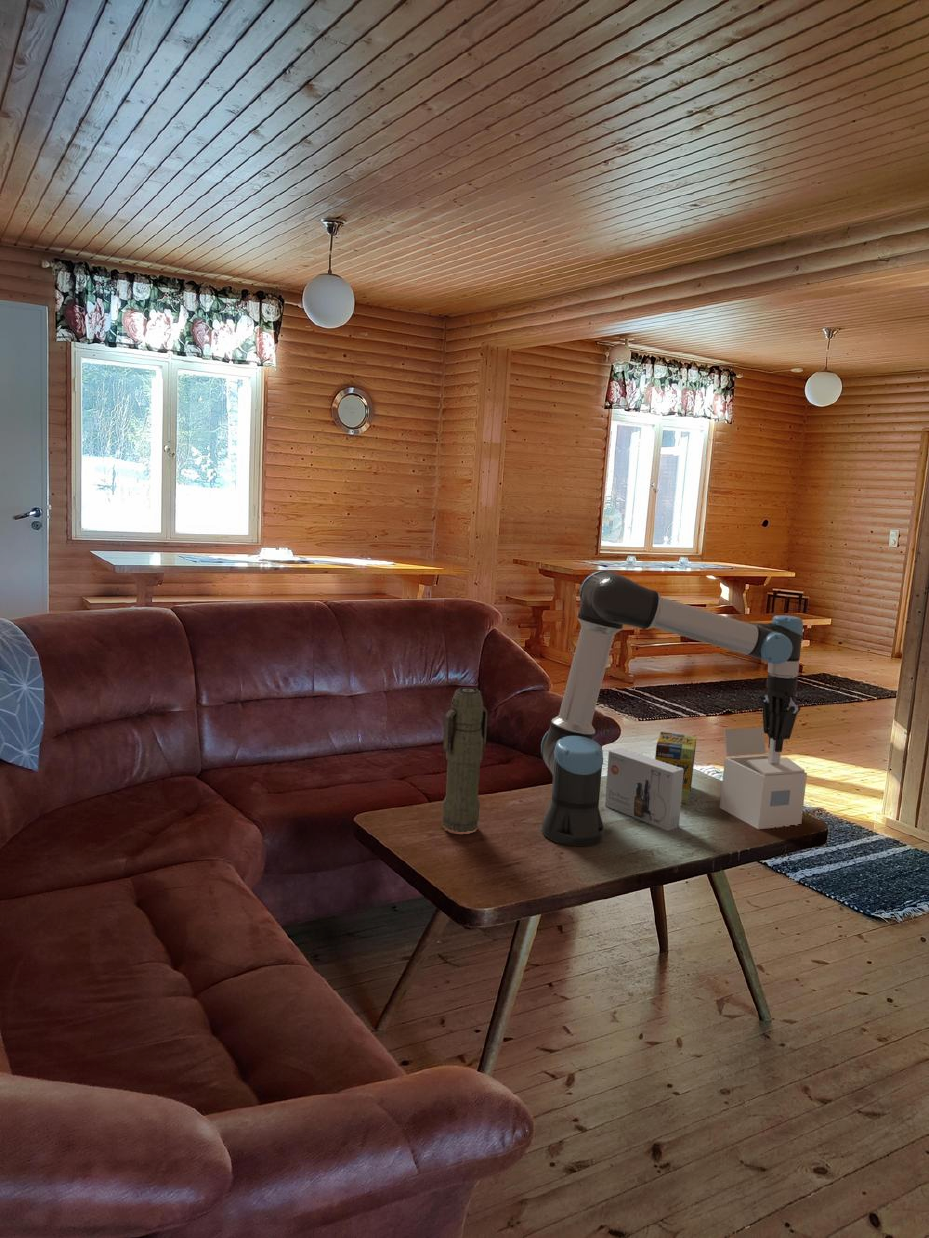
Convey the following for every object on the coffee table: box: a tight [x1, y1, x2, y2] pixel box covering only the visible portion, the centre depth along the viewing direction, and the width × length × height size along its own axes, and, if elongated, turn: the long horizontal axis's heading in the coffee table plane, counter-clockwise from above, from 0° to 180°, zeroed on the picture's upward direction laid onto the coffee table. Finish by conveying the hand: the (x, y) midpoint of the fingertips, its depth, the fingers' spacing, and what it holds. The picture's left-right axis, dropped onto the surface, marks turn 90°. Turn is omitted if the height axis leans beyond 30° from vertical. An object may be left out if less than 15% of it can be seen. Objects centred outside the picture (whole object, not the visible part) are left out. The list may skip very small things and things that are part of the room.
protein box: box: [654, 731, 697, 804], centre depth 256 cm, size 10×15×16 cm
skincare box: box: [604, 747, 684, 831], centre depth 235 cm, size 21×6×16 cm, turn 42°
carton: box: [719, 754, 808, 830], centre depth 240 cm, size 14×16×14 cm
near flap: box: [747, 756, 806, 775], centre depth 235 cm, size 13×7×1 cm, turn 111°
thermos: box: [442, 687, 489, 832], centre depth 218 cm, size 9×12×35 cm
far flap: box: [722, 727, 767, 757], centre depth 247 cm, size 13×7×1 cm
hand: (773, 762), depth 236 cm, fingers closed
